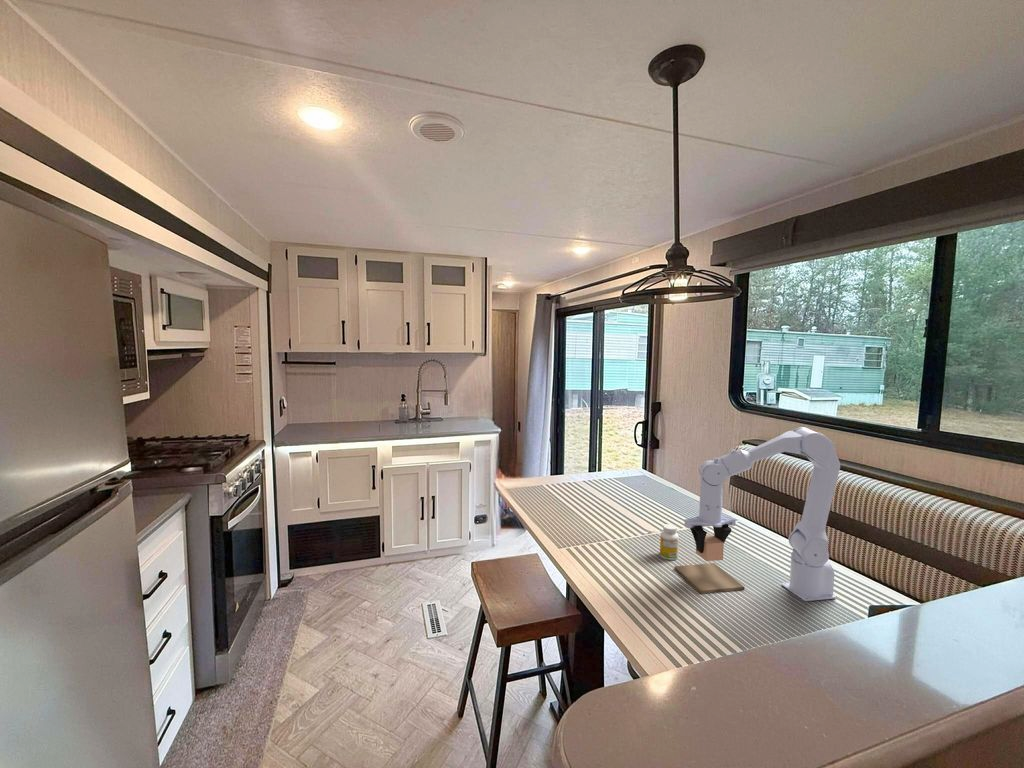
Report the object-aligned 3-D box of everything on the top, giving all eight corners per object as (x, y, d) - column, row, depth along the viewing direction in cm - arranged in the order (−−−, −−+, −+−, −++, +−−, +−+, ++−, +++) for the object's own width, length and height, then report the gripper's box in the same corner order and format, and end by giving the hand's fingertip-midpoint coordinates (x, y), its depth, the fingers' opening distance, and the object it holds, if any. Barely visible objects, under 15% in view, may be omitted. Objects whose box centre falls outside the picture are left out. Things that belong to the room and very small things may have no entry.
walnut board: (714, 565, 126) (714, 563, 126) (744, 589, 113) (744, 586, 113) (674, 568, 124) (674, 566, 124) (700, 593, 111) (700, 590, 111)
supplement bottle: (663, 550, 135) (664, 521, 135) (680, 555, 132) (681, 526, 131) (657, 556, 131) (658, 526, 130) (674, 562, 128) (675, 531, 127)
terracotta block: (711, 551, 121) (712, 534, 120) (722, 560, 116) (723, 542, 115) (695, 552, 120) (696, 535, 119) (706, 561, 115) (707, 543, 114)
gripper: (695, 510, 112) (693, 559, 113) (744, 507, 114) (741, 555, 115) (680, 501, 119) (679, 547, 120) (726, 498, 121) (725, 544, 122)
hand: (708, 550), depth 118 cm, fingers closed on terracotta block, 5 cm apart
